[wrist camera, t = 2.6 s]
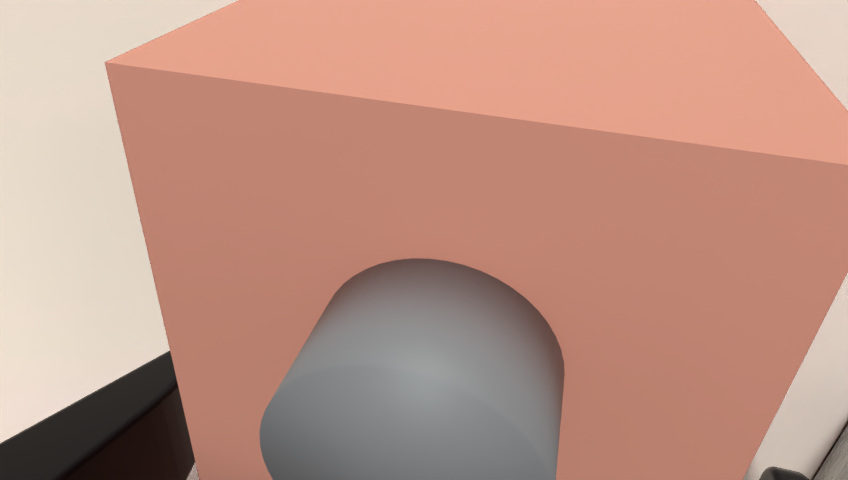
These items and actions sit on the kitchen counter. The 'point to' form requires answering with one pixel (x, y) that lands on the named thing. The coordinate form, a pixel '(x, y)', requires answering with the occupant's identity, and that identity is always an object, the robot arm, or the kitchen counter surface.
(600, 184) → the link
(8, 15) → the kitchen counter surface
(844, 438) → the shallow metal tray
